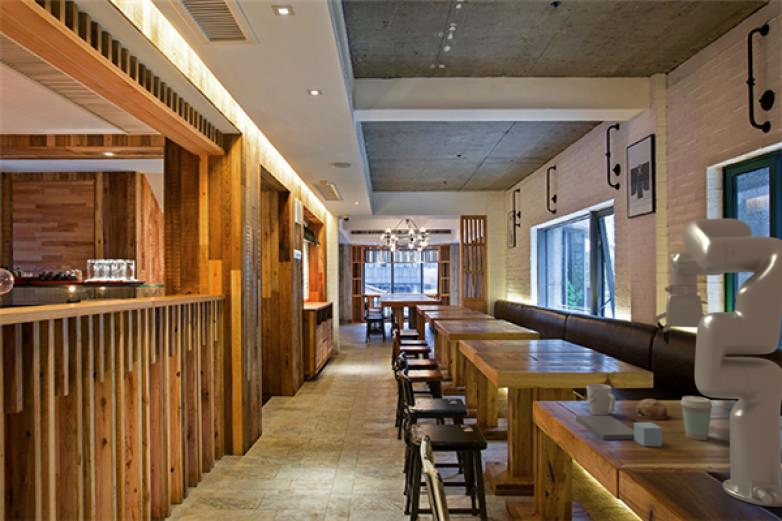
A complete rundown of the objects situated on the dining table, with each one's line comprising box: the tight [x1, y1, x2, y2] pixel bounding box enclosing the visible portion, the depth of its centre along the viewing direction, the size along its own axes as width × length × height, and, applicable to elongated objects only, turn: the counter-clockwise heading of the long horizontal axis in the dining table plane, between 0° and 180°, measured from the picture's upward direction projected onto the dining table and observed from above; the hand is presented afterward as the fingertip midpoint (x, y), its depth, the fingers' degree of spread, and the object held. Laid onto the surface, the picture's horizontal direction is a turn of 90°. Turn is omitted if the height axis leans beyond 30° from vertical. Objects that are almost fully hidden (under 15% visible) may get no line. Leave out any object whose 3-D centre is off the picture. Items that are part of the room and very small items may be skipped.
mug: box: [586, 383, 616, 416], centre depth 180 cm, size 11×8×10 cm
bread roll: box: [635, 398, 668, 421], centre depth 179 cm, size 10×10×8 cm
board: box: [576, 415, 634, 441], centre depth 163 cm, size 20×12×2 cm, turn 2°
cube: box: [633, 421, 663, 447], centre depth 150 cm, size 6×6×6 cm
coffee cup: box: [680, 395, 713, 441], centre depth 155 cm, size 8×8×12 cm
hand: (684, 344), depth 158 cm, fingers open, 9 cm apart
